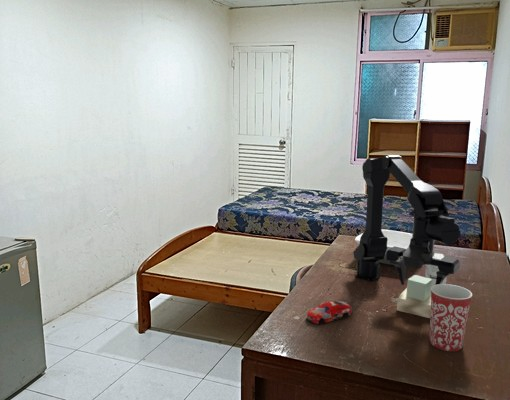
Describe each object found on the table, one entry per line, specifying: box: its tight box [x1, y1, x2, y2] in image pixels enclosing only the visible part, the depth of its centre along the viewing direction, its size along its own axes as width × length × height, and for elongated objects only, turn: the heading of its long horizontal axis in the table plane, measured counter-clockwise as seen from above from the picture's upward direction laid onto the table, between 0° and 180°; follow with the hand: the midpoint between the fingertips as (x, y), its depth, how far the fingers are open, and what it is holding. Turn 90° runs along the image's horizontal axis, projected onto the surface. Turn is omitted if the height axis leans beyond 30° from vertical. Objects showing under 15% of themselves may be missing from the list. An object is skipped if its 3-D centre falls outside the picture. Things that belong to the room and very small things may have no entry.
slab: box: [396, 287, 431, 319], centre depth 129 cm, size 9×9×4 cm
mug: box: [429, 283, 473, 352], centre depth 110 cm, size 13×9×14 cm
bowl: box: [354, 229, 413, 266], centre depth 171 cm, size 22×23×8 cm
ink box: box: [424, 252, 448, 286], centre depth 139 cm, size 9×5×12 cm, turn 168°
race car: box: [306, 300, 353, 325], centre depth 123 cm, size 13×5×4 cm, turn 117°
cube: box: [406, 274, 432, 301], centre depth 128 cm, size 5×5×5 cm
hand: (418, 288), depth 128 cm, fingers open, 9 cm apart
